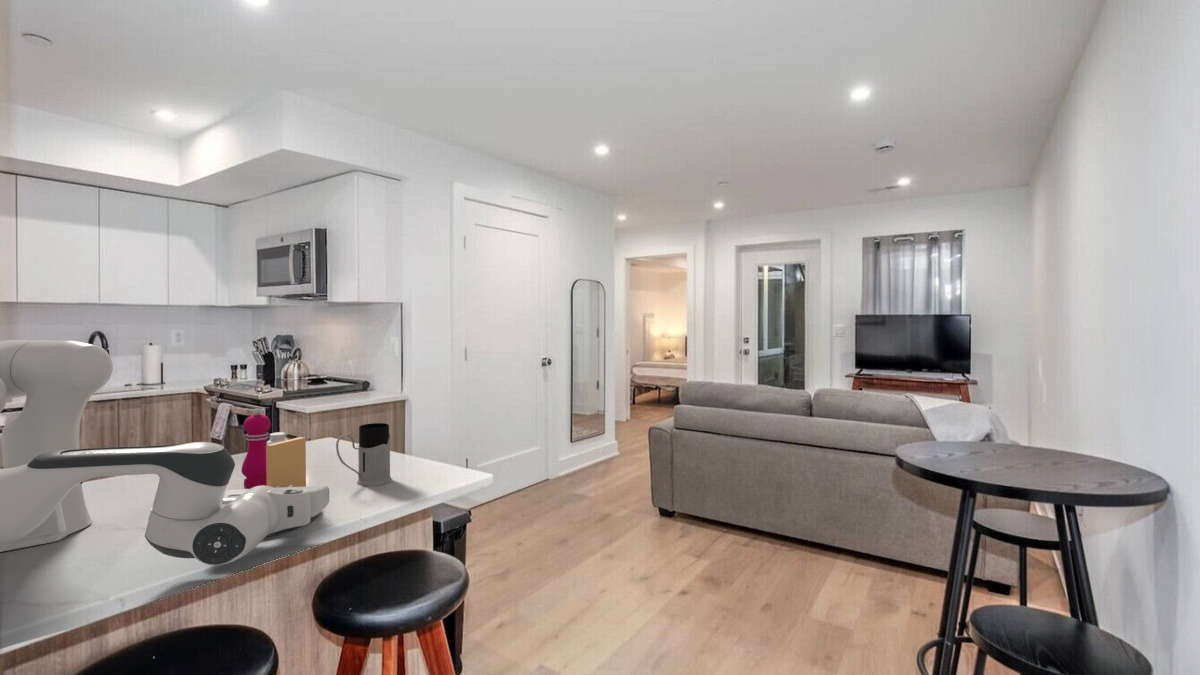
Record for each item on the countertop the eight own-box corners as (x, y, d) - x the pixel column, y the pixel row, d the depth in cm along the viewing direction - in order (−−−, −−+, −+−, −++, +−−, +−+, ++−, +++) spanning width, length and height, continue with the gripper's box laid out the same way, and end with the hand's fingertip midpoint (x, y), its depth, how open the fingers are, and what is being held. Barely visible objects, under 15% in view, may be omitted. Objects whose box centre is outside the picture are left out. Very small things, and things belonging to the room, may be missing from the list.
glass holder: (397, 481, 151) (397, 425, 150) (343, 493, 140) (343, 433, 140) (382, 474, 157) (382, 421, 156) (330, 485, 146) (329, 428, 146)
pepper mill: (263, 489, 143) (262, 411, 142) (235, 488, 143) (233, 410, 142) (280, 481, 150) (279, 406, 149) (253, 480, 150) (252, 406, 149)
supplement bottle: (293, 466, 164) (293, 431, 164) (280, 471, 158) (280, 435, 158) (275, 465, 164) (275, 431, 164) (262, 471, 159) (261, 435, 159)
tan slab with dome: (257, 516, 117) (256, 452, 117) (234, 511, 120) (233, 449, 119) (315, 495, 131) (314, 438, 130) (292, 492, 133) (292, 435, 133)
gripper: (197, 530, 103) (232, 505, 117) (316, 524, 107) (337, 501, 121) (197, 497, 103) (232, 476, 117) (316, 491, 107) (337, 472, 120)
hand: (286, 488), depth 119 cm, fingers closed
